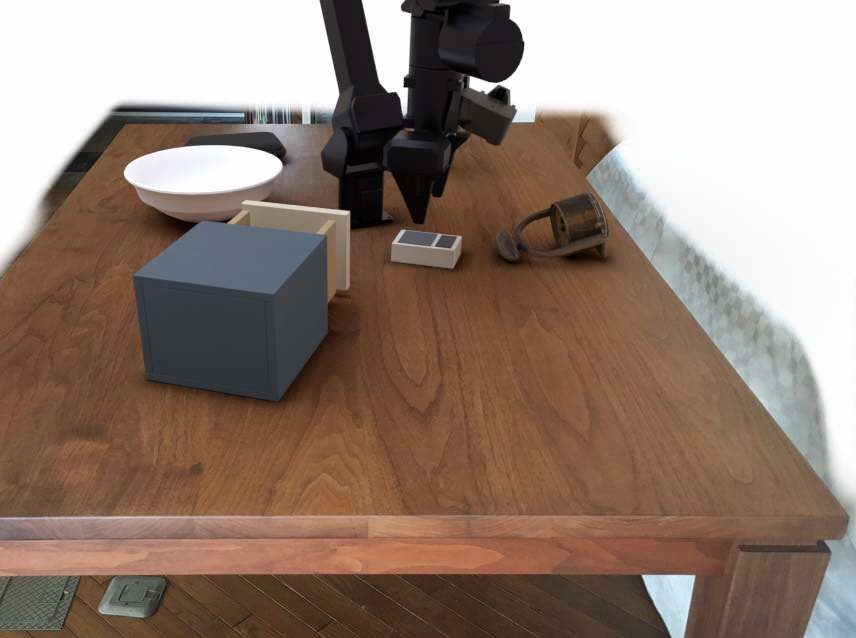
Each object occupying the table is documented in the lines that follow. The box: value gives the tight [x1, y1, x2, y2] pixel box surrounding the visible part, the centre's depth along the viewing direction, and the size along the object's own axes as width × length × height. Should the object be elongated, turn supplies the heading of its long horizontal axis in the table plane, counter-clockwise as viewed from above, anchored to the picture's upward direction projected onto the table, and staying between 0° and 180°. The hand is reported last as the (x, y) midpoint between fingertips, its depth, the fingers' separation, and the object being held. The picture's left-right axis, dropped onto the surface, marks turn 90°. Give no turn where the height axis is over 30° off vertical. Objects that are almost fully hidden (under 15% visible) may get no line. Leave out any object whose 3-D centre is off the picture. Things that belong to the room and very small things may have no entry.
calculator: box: [390, 229, 463, 270], centre depth 103 cm, size 7×5×2 cm, turn 72°
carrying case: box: [183, 131, 287, 162], centre depth 136 cm, size 11×3×15 cm
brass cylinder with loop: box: [494, 191, 610, 263], centre depth 103 cm, size 7×13×10 cm
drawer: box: [227, 200, 351, 303], centre depth 91 cm, size 16×11×8 cm
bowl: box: [123, 145, 284, 224], centre depth 115 cm, size 20×20×6 cm
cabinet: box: [132, 221, 329, 403], centre depth 81 cm, size 14×13×10 cm
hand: (428, 210), depth 101 cm, fingers open, 9 cm apart
